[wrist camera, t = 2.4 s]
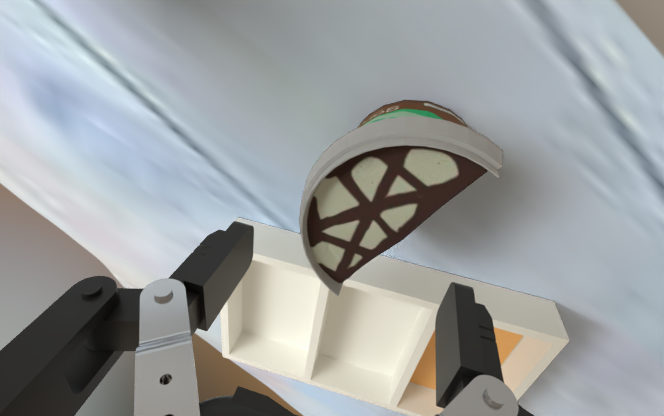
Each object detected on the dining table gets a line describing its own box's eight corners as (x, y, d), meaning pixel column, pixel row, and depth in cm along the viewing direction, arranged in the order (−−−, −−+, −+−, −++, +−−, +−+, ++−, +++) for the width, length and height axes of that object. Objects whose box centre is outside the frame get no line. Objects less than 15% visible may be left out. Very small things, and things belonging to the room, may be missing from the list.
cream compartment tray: (238, 329, 42) (222, 358, 39) (237, 217, 33) (216, 242, 29) (478, 402, 39) (483, 440, 36) (553, 301, 30) (569, 340, 26)
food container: (412, 36, 22) (403, 66, 13) (481, 103, 23) (511, 168, 14) (302, 166, 28) (250, 239, 20) (359, 212, 29) (332, 300, 21)
